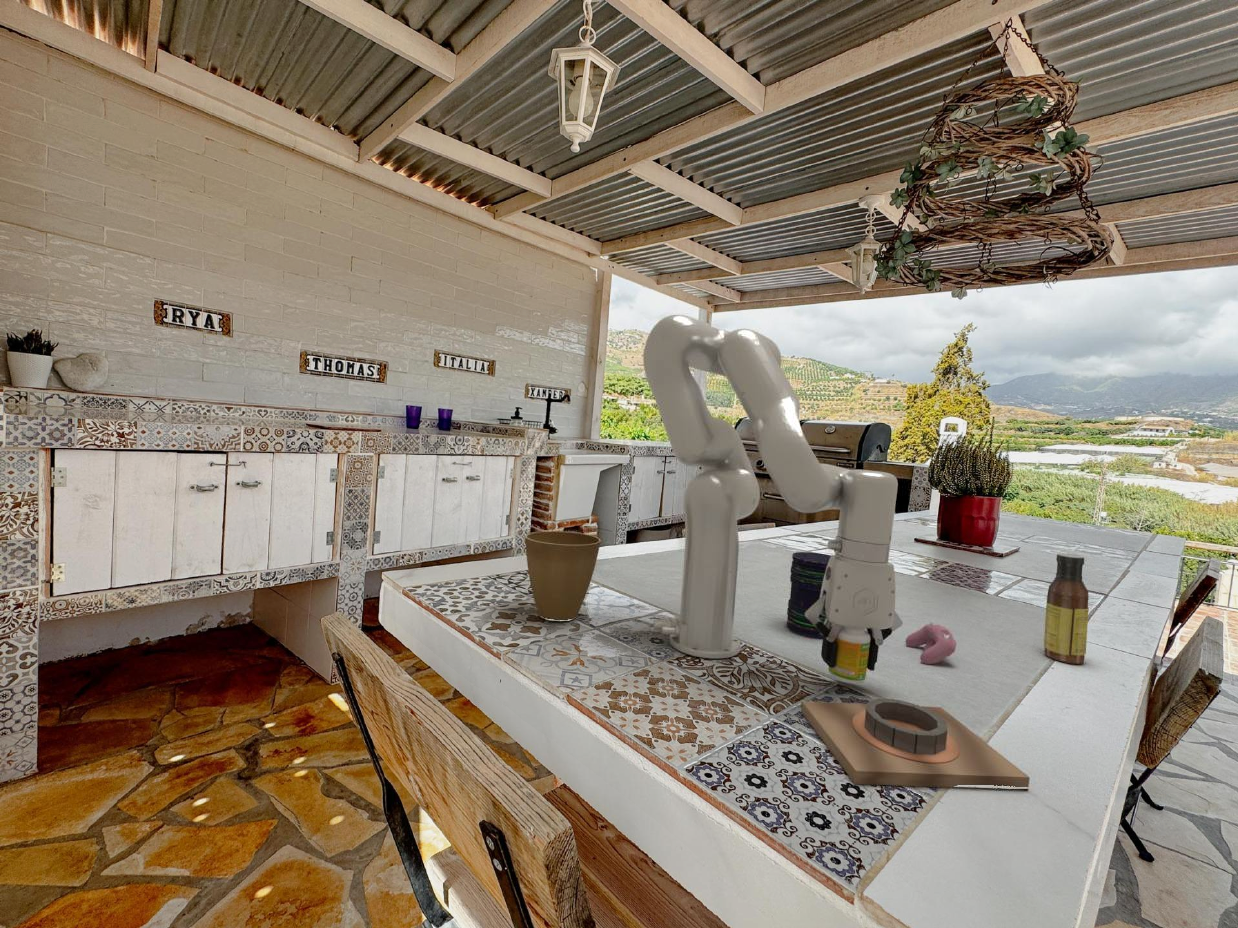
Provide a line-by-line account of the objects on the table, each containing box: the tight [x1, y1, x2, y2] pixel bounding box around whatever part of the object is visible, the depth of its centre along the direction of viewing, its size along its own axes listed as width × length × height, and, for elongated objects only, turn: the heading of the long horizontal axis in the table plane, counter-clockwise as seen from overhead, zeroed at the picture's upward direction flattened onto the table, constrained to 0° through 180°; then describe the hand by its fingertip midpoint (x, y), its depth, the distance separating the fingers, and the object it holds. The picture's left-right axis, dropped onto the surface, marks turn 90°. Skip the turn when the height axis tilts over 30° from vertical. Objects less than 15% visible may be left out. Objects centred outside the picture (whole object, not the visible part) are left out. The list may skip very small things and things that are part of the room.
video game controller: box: [905, 622, 957, 665], centre depth 102 cm, size 10×5×7 cm, turn 169°
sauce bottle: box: [1043, 552, 1090, 665], centre depth 105 cm, size 7×6×20 cm
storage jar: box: [786, 551, 832, 640], centre depth 112 cm, size 10×10×15 cm
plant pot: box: [524, 530, 602, 620], centre depth 110 cm, size 15×15×16 cm
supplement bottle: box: [827, 626, 870, 685], centre depth 86 cm, size 5×5×10 cm
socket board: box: [800, 698, 1030, 788], centre depth 70 cm, size 20×16×4 cm
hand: (847, 664), depth 86 cm, fingers closed on supplement bottle, 5 cm apart
